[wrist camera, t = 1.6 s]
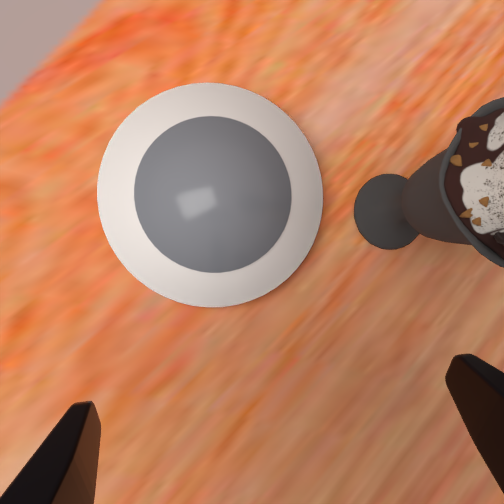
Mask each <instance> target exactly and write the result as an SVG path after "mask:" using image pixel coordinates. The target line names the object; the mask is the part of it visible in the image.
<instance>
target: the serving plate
mask: <svg viewBox="0 0 504 504" xmlns="http://www.w3.org/2000/svg"><path fill="white" fill-rule="evenodd" d="M97 201H98V208H99V215H100V219H101V223H102V226H103V230H104V232H105V235H106V237H107V239H108V242H109V244H110V246H111V247H112V249H113V251H114V252H115V254H116V256H117V257H118V259H119V260H120V261H121V262H122V264H123V265H124V266H125V267H126V269H127V270H128V271H129V272H130V273H131V274H132V275H133V276H134V277H136V278H137V279H138V280H139V281H140V282H141V283H143V284H144V285H146V286H147V287H148V288H150V289H151V290H153V291H155V292H157V293H158V294H160V295H162V296H164V297H166V298H169V299H171V300H174V301H177V302H180V303H184V304H188V305H192V306H200V307H226V306H232V305H238V304H241V303H245V302H248V301H251V300H254V299H256V298H258V297H261V296H263V295H265V294H267V293H268V292H270V291H271V290H273V289H275V288H276V287H278V286H279V285H280V284H281V283H283V282H284V281H285V280H286V279H288V278H289V277H290V276H291V274H292V273H293V272H294V271H295V270H296V269H297V268H298V267H299V265H300V264H301V263H302V261H303V260H304V259H305V257H306V256H307V254H308V252H309V250H310V248H311V247H312V245H313V242H314V240H315V237H316V235H317V232H318V229H319V225H320V221H321V216H322V208H323V187H322V180H321V174H320V170H319V166H318V163H317V160H316V157H315V155H314V152H313V150H312V148H311V146H310V144H309V142H308V141H307V139H306V137H305V135H304V134H303V133H302V131H301V130H300V129H299V127H298V126H297V125H296V124H295V122H294V121H293V120H292V119H291V118H290V117H289V116H288V115H287V114H286V113H285V112H283V111H282V110H281V109H280V108H279V107H277V106H276V105H275V104H273V103H272V102H270V101H269V100H267V99H265V98H264V97H262V96H260V95H258V94H256V93H254V92H251V91H249V90H246V89H243V88H240V87H237V86H232V85H227V84H220V83H196V84H189V85H184V86H179V87H176V88H173V89H170V90H167V91H164V92H162V93H160V94H158V95H156V96H154V97H152V98H150V99H149V100H147V101H146V102H144V103H143V104H142V105H140V106H139V107H137V108H136V109H135V110H134V111H133V112H132V113H131V114H130V115H129V116H128V117H127V118H126V119H125V120H124V121H123V123H122V124H121V125H120V126H119V127H118V129H117V130H116V132H115V134H114V135H113V137H112V138H111V140H110V142H109V144H108V146H107V149H106V151H105V153H104V155H103V159H102V163H101V166H100V170H99V177H98V184H97Z"/></svg>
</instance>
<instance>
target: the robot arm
mask: <svg viewBox="0 0 504 504" xmlns="http://www.w3.org/2000/svg"><path fill="white" fill-rule="evenodd" d="M445 381H446V385H447V387H448V389H449V391H450V394H451V396H452V398H453V400H454V402H455V404H456V406H457V408H458V411H459V413H460V415H461V417H462V419H463V421H464V423H465V425H466V428H467V430H468V432H469V434H470V436H471V438H472V440H473V442H474V444H475V445H476V447H477V449H478V451H479V452H480V454H481V456H482V458H483V459H484V461H485V463H486V464H487V466H488V468H489V470H490V471H491V473H492V475H493V476H494V478H495V480H496V481H497V483H498V485H499V487H500V488H501V490H502V492H503V493H504V373H503V372H502V371H500V370H498V369H497V368H495V367H493V366H492V365H490V364H488V363H486V362H485V361H483V360H481V359H480V358H478V357H476V356H474V355H472V354H461V355H456V356H454V357H453V359H452V361H451V364H450V366H449V368H448V371H447V373H446V376H445ZM100 437H101V423H100V420H99V417H98V414H97V411H96V408H95V405H94V403H93V402H92V401H85V402H77V403H74V404H73V405H71V407H70V408H69V409H68V410H67V412H66V413H65V414H64V415H63V417H62V418H61V419H60V421H59V422H58V423H57V425H56V426H55V427H54V428H53V430H52V431H51V432H50V434H49V435H48V436H47V438H46V439H45V440H44V441H43V443H42V444H41V445H40V447H39V448H38V449H37V450H36V452H35V453H34V454H33V456H32V457H31V458H30V460H29V461H28V462H27V463H26V465H25V466H24V467H23V469H22V470H21V471H20V472H19V474H18V475H17V476H16V478H15V479H14V480H13V482H12V483H11V484H10V485H9V487H8V488H7V489H6V491H5V492H4V493H3V495H2V496H1V497H0V504H94V497H95V488H96V478H97V467H98V457H99V447H100Z"/></svg>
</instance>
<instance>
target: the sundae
mask: <svg viewBox="0 0 504 504" xmlns="http://www.w3.org/2000/svg"><path fill="white" fill-rule="evenodd" d="M456 130H457V134H456V135H455V137H454V139H453V140H452V142H451V144H450V145H449V147H448V148H447V149H445V150H444V151H442V152H441V153H439V154H438V155H436V156H435V157H433V158H431V159H430V160H428V161H427V162H426V163H425V164H424V165H423V166H422V167H420V168H419V169H418V170H417V171H416V172H415V173H414V174H412V176H411V177H410V178H409V179H408V180H407V179H406V178H404V177H402V176H399V175H395V174H382V175H379V176H376V177H374V178H372V179H370V180H369V181H368V182H367V183H366V184H365V185H364V186H363V187H362V188H361V189H360V191H359V193H358V195H357V198H356V201H355V206H354V218H355V221H356V224H357V227H358V229H359V231H360V233H361V234H362V235H363V237H364V238H365V239H366V240H367V241H368V242H369V243H371V244H373V245H375V246H377V247H379V248H382V249H398V248H401V247H404V246H406V245H408V244H410V243H411V242H412V241H413V240H414V239H415V238H416V237H417V235H418V234H419V233H420V234H422V235H424V236H425V237H428V238H432V239H436V240H439V241H444V242H451V243H459V244H467V245H473V247H474V248H475V249H476V250H477V251H478V252H479V253H480V254H482V255H483V256H485V257H486V258H487V259H489V260H490V261H492V262H494V263H495V264H497V265H499V266H501V267H504V97H503V98H500V99H496V100H493V101H491V102H489V103H487V104H485V105H483V106H482V107H480V108H479V109H478V110H477V111H476V112H475V113H474V114H473V115H472V116H471V117H467V118H464V119H463V120H461V121H460V122H459V124H458V126H457V129H456Z"/></svg>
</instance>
